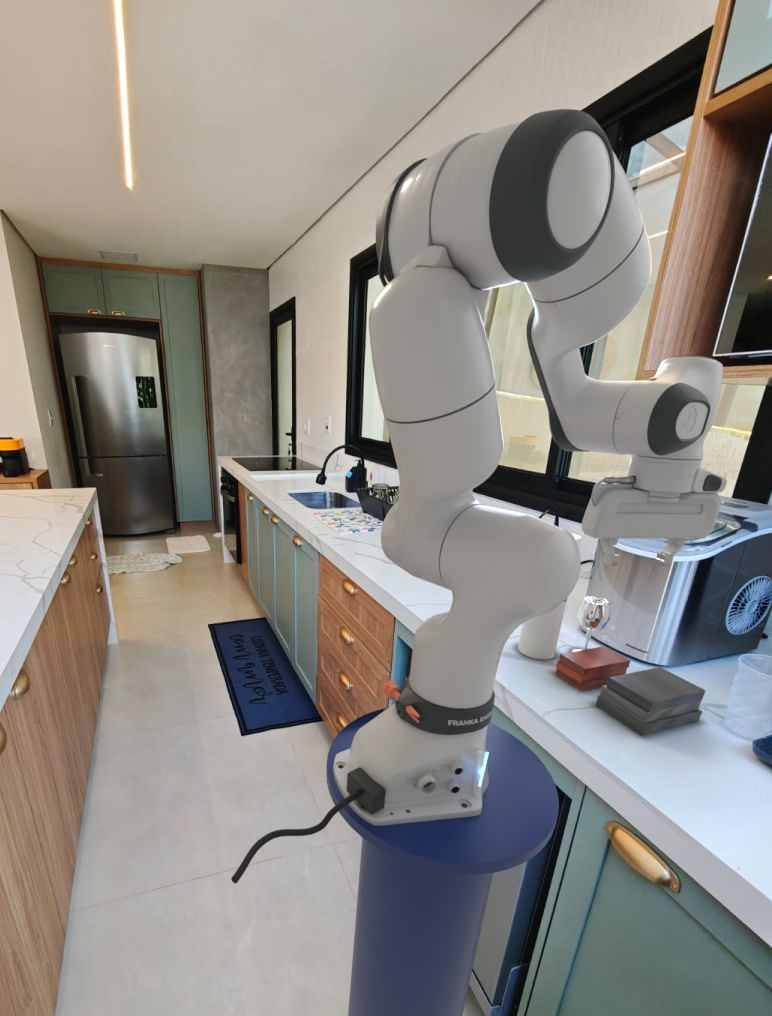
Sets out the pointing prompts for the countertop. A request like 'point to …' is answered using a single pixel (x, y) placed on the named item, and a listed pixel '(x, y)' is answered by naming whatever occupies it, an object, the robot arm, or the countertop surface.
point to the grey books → (651, 700)
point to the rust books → (586, 677)
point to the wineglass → (593, 616)
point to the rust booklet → (594, 660)
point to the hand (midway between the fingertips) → (636, 564)
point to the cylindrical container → (543, 630)
